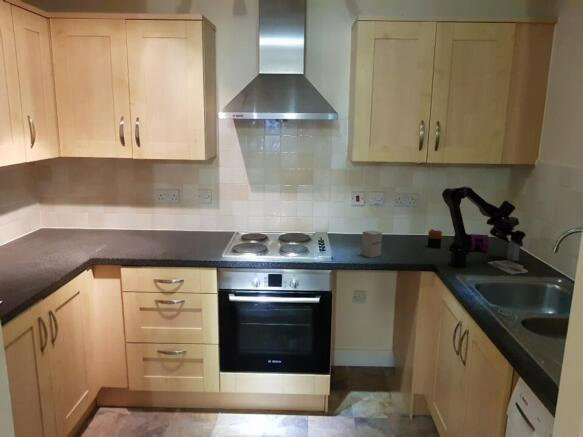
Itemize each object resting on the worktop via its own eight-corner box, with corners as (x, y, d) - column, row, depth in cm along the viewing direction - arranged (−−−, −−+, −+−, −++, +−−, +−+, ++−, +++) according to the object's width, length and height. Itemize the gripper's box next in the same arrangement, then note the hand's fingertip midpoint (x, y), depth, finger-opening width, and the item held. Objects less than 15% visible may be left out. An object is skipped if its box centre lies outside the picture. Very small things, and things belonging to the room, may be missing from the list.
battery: (428, 245, 264) (429, 228, 262) (440, 247, 261) (442, 229, 259) (427, 247, 260) (428, 230, 258) (440, 249, 257) (441, 231, 255)
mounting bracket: (463, 254, 268) (470, 249, 251) (463, 240, 270) (470, 234, 253) (480, 255, 267) (488, 250, 249) (480, 241, 268) (488, 235, 251)
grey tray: (511, 274, 216) (512, 269, 216) (487, 263, 232) (488, 259, 231) (528, 272, 219) (528, 268, 218) (503, 262, 234) (503, 258, 234)
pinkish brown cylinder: (370, 258, 238) (372, 234, 235) (361, 254, 244) (362, 231, 241) (381, 256, 242) (382, 232, 239) (371, 252, 248) (372, 229, 245)
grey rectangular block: (512, 261, 237) (514, 242, 235) (507, 258, 240) (509, 240, 238) (518, 260, 238) (520, 241, 236) (512, 258, 242) (515, 239, 239)
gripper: (525, 216, 224) (539, 236, 229) (496, 208, 241) (511, 228, 247) (510, 233, 223) (525, 253, 229) (482, 224, 240) (497, 243, 246)
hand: (515, 243), depth 237 cm, fingers open, 9 cm apart
